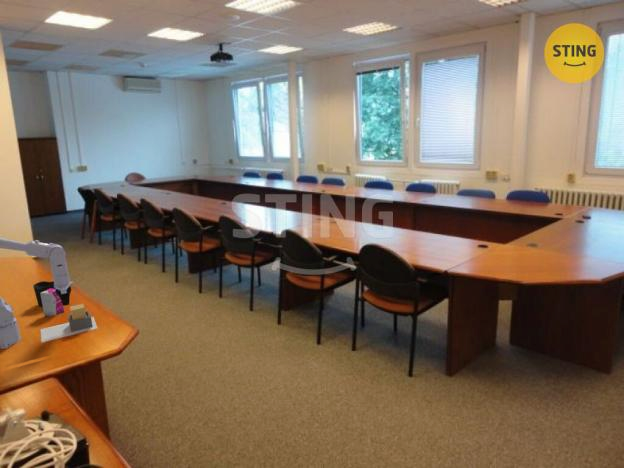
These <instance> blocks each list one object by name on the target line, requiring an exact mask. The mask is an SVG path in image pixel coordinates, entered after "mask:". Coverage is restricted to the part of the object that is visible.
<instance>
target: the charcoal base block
mask: <svg viewBox="0 0 624 468" xmlns="http://www.w3.org/2000/svg"><path fill="white" fill-rule="evenodd" d="M85 313H86V318H83V319H78V320H74V321H73V319H72V315H71V314H69V315H67V320H68V323H69V325H70V329H71V332H73V331H77V330H81V329H85V328H89V327H93V325H92V320H91V317H92V316H91V314H90V311H89V310H85Z"/></svg>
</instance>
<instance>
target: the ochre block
mask: <svg viewBox="0 0 624 468" xmlns="http://www.w3.org/2000/svg"><path fill="white" fill-rule="evenodd" d="M84 305H85V304H84V303H80V304H75V305H71V306H69V309H70V315H72V319H73V321H74V320H78V319H83V318H86V313H85V311H86V308H85V306H84Z"/></svg>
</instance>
